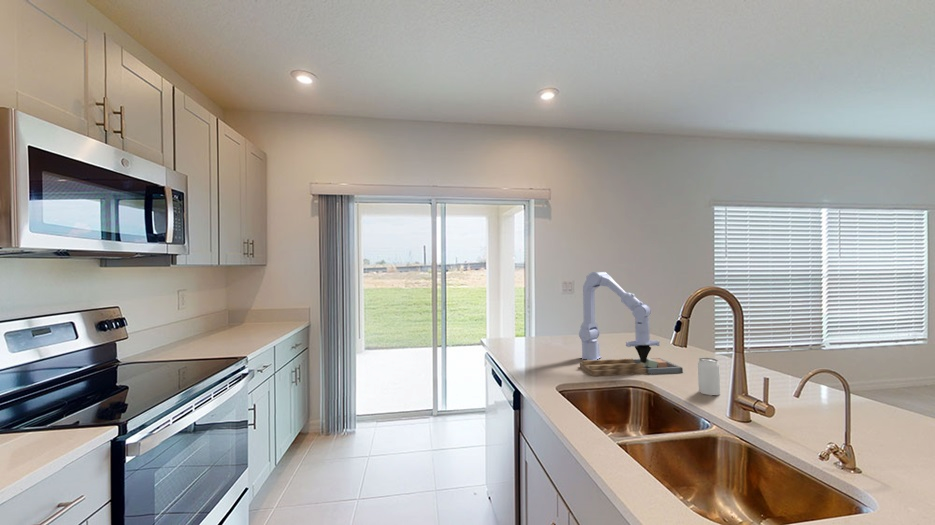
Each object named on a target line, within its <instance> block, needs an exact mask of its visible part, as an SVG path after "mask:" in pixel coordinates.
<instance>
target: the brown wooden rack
mask: <svg viewBox="0 0 935 525" xmlns="http://www.w3.org/2000/svg"><path fill="white" fill-rule="evenodd" d="M634 359H635V358H614V359H611V358H609V359H598V360H581V362H579V368H580V367H581V369H582V368H583V369H584V370H583V369H582V370H583V371H585V372H586V373H587V372H588V373H587V374H588V375H590V376H592V377H602V376H603V377H604V376H605V377H606V376H621V375H623V376H624V375H642V374H643V375H645V374H646V375H648V374H647V369H646V368H644V364H643V363H634Z"/></svg>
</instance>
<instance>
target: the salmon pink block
mask: <svg viewBox="0 0 935 525" xmlns="http://www.w3.org/2000/svg"><path fill="white" fill-rule="evenodd" d="M660 359H661V358H660ZM660 359H652V360H654V361H657V362H658V364H657V368H666V367H667V363H666V362H665V361H666V360H665V361H662V360H660Z"/></svg>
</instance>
